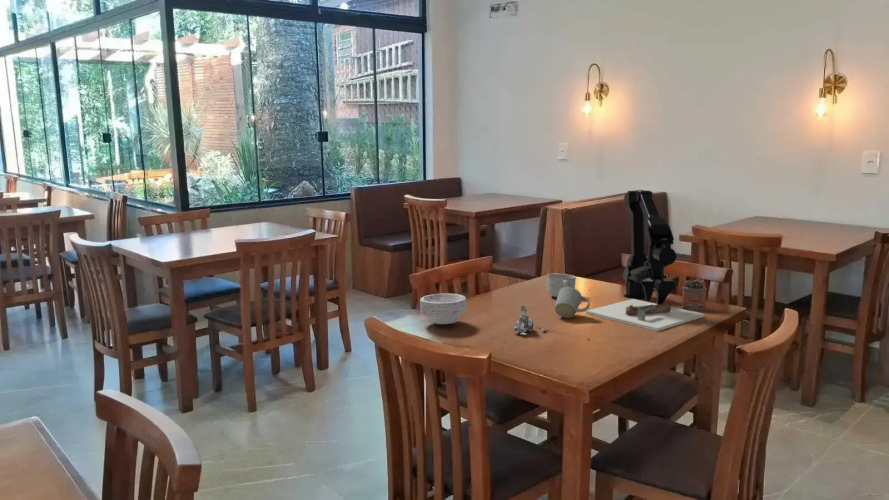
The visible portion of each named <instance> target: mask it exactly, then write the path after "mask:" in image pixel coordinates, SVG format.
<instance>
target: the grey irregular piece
mask: <svg viewBox="0 0 889 500" xmlns="http://www.w3.org/2000/svg"><path fill="white" fill-rule="evenodd" d="M512 329H513V332H516V333H520V335H527V333H526V332H528V331H529V332H532V331H533V330H534V320H532V319H531V318H529V314H527V307H526V305H521V308H520V316H519V318H518V320H517V321H515V326H513V327H512ZM539 330H541V331H545V330H547V328H544V327H543V328H541V329H539Z"/></svg>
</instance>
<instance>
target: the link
mask: <svg viewBox="0 0 889 500" xmlns="http://www.w3.org/2000/svg"><path fill="white" fill-rule="evenodd" d="M647 306H649V305H647ZM642 307H645V306H635V307H633V305H629V307H626V314H628V315H635V314H638V308H642ZM671 307H672V305H670V304H668V303H663V304H660V305H656V308H655V309H652V310H648V311H645V314H646V313H658V312H670V311H671Z"/></svg>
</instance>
